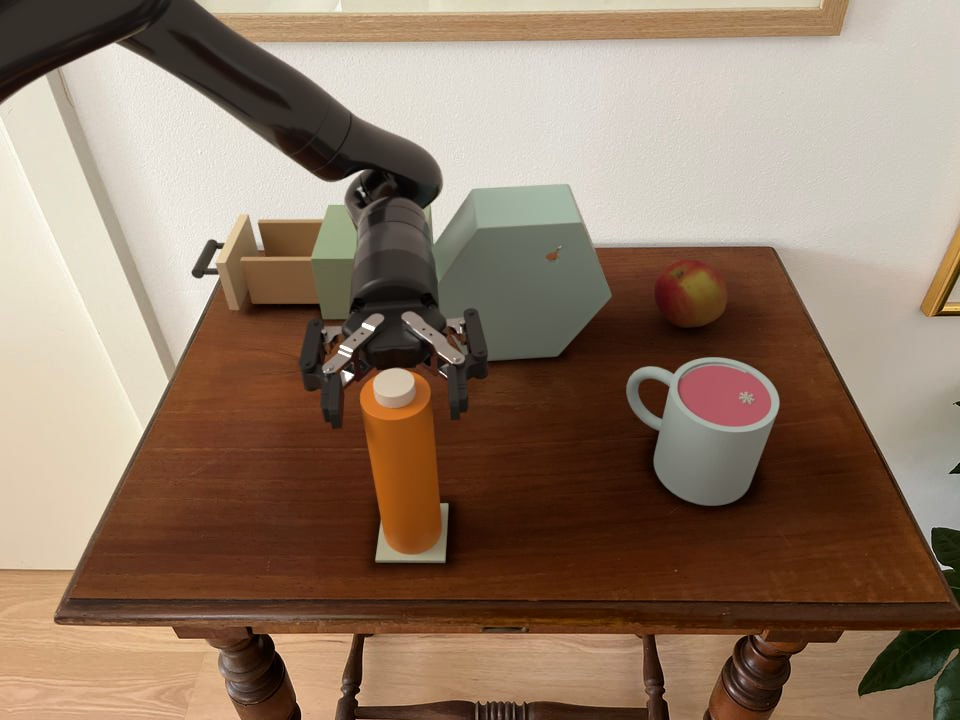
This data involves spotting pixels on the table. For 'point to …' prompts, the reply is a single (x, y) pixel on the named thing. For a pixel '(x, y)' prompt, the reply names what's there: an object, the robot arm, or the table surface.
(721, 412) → the mug
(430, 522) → the juice bottle
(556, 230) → the pale green hexagonal block
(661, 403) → the table surface
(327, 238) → the cabinet
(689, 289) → the apple
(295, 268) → the drawer
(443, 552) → the coaster
